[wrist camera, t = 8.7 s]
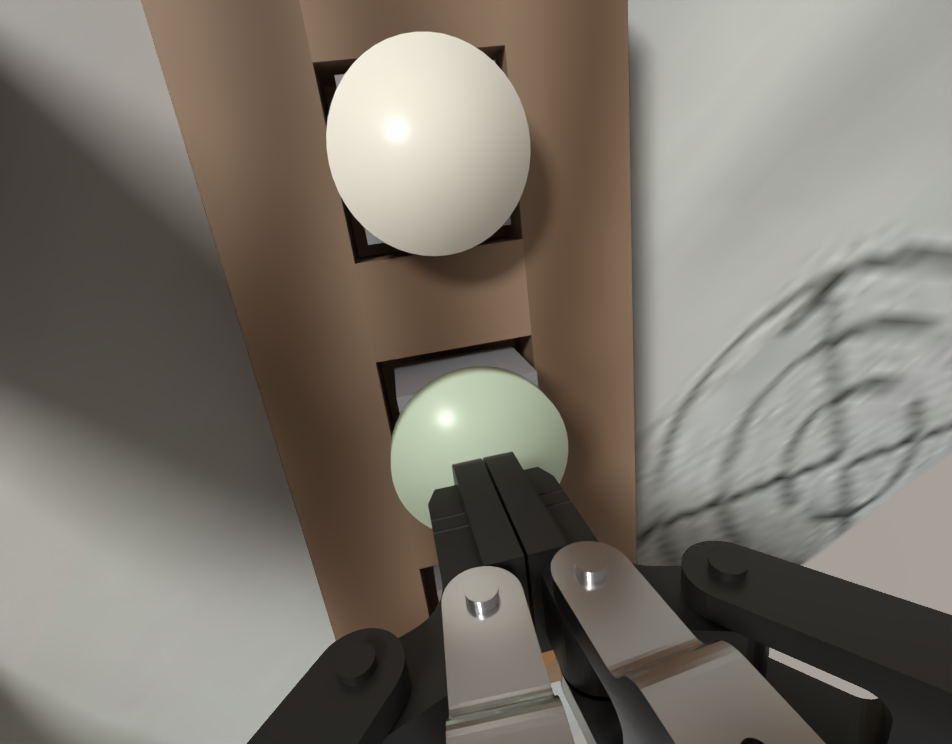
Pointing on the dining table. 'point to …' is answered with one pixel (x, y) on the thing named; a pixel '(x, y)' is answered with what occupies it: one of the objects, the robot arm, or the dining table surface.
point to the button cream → (428, 144)
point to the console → (411, 263)
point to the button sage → (469, 421)
